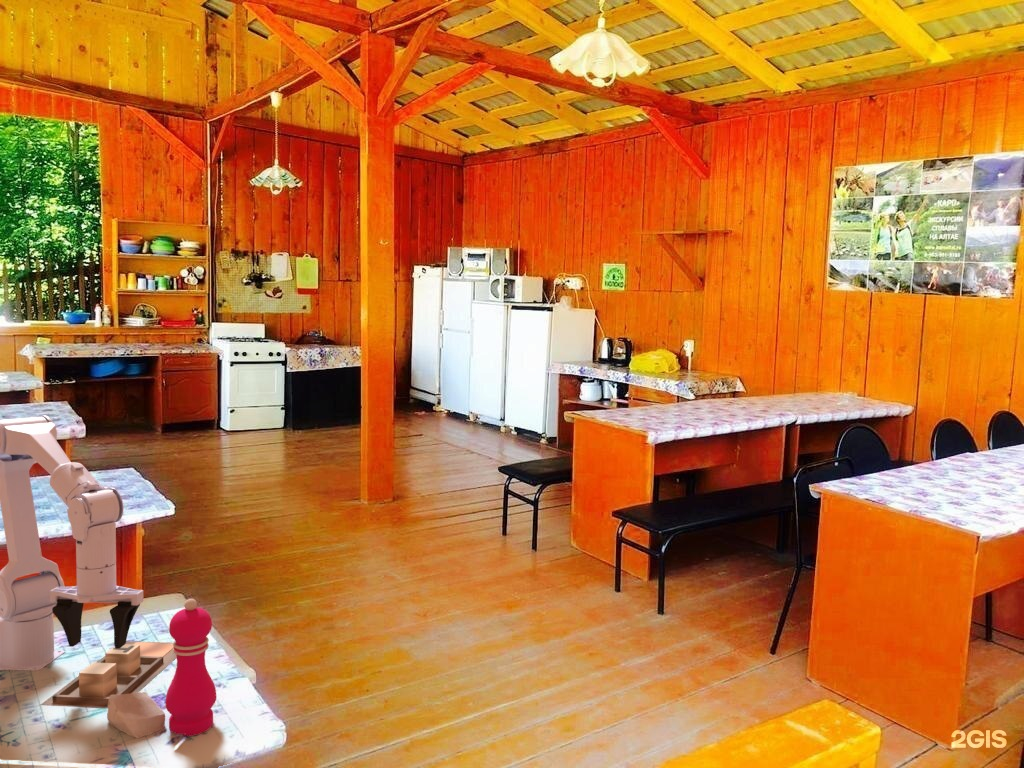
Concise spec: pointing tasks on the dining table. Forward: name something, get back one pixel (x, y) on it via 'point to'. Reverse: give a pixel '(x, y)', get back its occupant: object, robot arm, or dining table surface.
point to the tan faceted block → (135, 714)
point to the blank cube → (98, 679)
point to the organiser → (120, 677)
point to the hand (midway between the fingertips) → (97, 645)
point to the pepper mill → (190, 673)
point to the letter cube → (124, 658)
